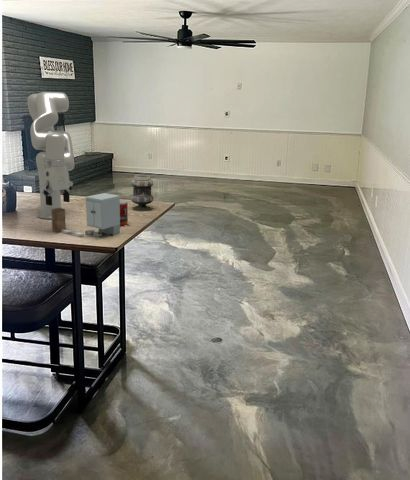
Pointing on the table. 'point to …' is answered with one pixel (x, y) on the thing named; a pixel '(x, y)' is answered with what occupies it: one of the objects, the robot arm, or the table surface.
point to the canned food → (123, 213)
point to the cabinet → (104, 212)
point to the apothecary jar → (142, 192)
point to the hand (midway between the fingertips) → (58, 203)
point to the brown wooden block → (61, 222)
